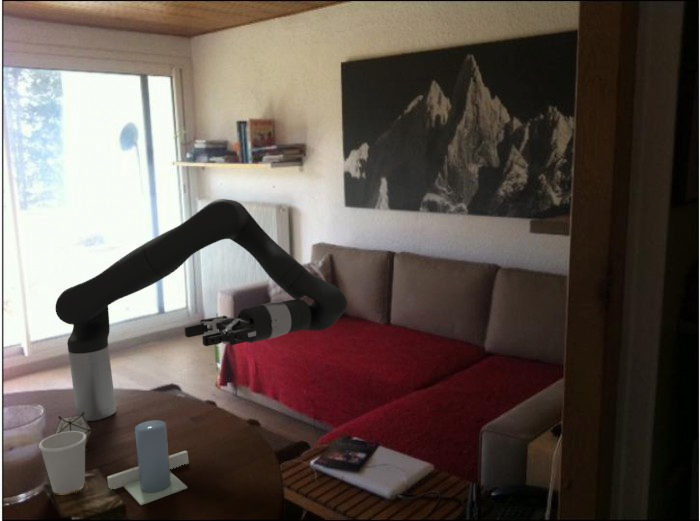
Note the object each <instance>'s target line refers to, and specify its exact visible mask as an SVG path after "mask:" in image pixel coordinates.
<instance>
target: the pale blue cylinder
mask: <svg viewBox="0 0 700 521" xmlns="http://www.w3.org/2000/svg"><path fill="white" fill-rule="evenodd" d="M134 431H135V441H136V442H135V443H136V454H137V465H138V466H137V467H139V478H140V489H141V491H143V492H145V493H156V492H160V491H163V490H165V489H167V488H168V487H169V486H170V485H171V479H170V472H171V470H170V467H169V456H170V455H169V446H168V436H167V434H168V431H167V423H166V421H164V420H157V419H156V420H147V421H144V422H141V423H139V424H137V425H136V426H135V428H134Z"/></svg>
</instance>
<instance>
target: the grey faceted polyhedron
mask: <svg viewBox="0 0 700 521" xmlns="http://www.w3.org/2000/svg"><path fill="white" fill-rule="evenodd" d="M83 415H84V412H83V413H82V415H80V416H77V415H75V416H68V417H61V415H58V416H57V417H58V419H59V422H58V425H57V427H56V429H55V432H54V434H57V433H62V432H67V431H79V432H82V433H84V434H85V435H86V439H85V451H86V452H87V451H88V448H87V444H88V442H89V438H90V436H91V432H94V431H95V428H91V427H90V425H89V424H88V421H86V420H85V419H84V417H83Z"/></svg>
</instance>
